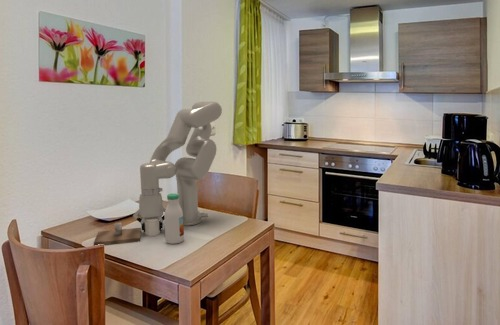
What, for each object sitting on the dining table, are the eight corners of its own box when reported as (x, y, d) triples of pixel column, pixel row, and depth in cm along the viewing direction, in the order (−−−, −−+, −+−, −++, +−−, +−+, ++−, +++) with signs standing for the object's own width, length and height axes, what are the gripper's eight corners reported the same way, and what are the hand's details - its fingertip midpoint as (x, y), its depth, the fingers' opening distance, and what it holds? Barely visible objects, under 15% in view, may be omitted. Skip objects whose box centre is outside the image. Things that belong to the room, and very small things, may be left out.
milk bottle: (175, 245, 142) (173, 197, 139) (161, 242, 146) (159, 195, 143) (188, 239, 148) (186, 193, 145) (174, 236, 152) (172, 191, 149)
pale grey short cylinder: (159, 230, 160) (158, 215, 159) (159, 234, 154) (159, 219, 153) (145, 231, 158) (144, 216, 157) (145, 236, 152) (144, 220, 151)
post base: (141, 230, 159) (140, 217, 158) (140, 241, 147) (139, 226, 146) (98, 234, 154) (97, 220, 153) (93, 246, 142) (92, 230, 141)
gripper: (170, 188, 159) (171, 226, 162) (129, 191, 154) (132, 229, 157) (170, 192, 152) (172, 231, 155) (128, 195, 147) (131, 235, 150)
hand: (152, 230), depth 156 cm, fingers closed on pale grey short cylinder, 6 cm apart
